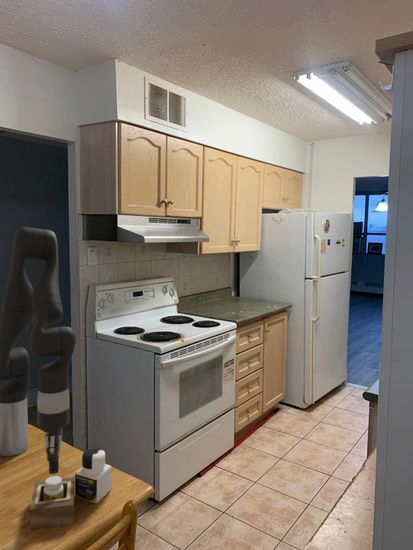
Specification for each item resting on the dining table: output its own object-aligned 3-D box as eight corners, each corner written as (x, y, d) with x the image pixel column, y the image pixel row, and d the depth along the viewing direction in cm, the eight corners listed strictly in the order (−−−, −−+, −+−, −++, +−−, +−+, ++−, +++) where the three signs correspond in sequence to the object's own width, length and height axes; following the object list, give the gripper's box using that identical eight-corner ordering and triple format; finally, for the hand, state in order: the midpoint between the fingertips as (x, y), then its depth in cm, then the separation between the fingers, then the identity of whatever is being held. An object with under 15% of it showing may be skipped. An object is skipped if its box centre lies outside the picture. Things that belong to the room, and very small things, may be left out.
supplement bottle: (39, 515, 108) (39, 484, 107) (49, 503, 112) (50, 473, 111) (57, 518, 107) (57, 486, 106) (66, 506, 111) (66, 476, 110)
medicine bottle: (74, 497, 115) (74, 455, 114) (90, 483, 122) (91, 443, 121) (96, 504, 113) (96, 461, 111) (111, 489, 119) (112, 448, 118)
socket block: (35, 499, 114) (35, 480, 113) (74, 494, 117) (74, 476, 116) (29, 529, 102) (29, 509, 102) (73, 523, 105) (73, 503, 104)
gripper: (68, 415, 101) (68, 485, 103) (70, 395, 114) (70, 457, 116) (34, 418, 99) (35, 489, 101) (40, 397, 112) (40, 460, 114)
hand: (53, 471), depth 108 cm, fingers closed
